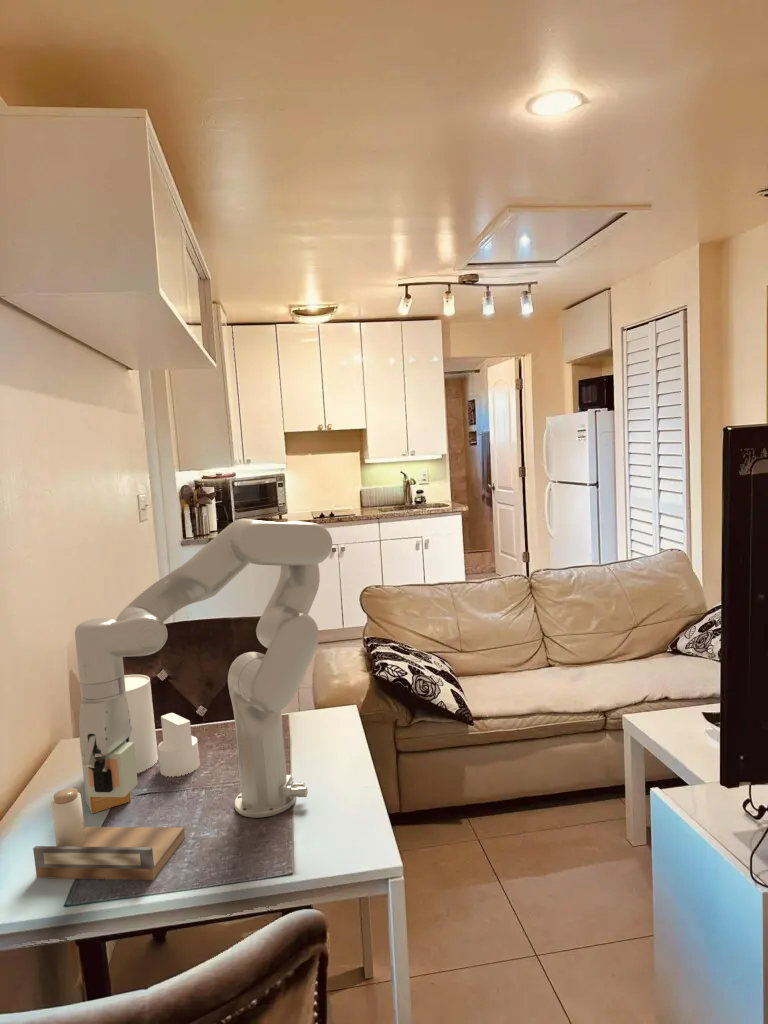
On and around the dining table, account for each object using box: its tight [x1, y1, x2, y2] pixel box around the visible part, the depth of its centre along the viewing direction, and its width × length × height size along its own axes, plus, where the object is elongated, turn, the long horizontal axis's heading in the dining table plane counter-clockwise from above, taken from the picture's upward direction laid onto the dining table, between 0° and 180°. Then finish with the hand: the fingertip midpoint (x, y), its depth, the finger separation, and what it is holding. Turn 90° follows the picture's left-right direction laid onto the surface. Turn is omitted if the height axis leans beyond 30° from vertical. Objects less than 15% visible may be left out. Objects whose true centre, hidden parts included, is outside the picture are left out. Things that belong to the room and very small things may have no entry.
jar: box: [50, 787, 86, 847], centre depth 128 cm, size 5×5×10 cm
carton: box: [85, 742, 139, 797], centre depth 126 cm, size 5×7×8 cm
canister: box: [124, 674, 159, 774], centre depth 165 cm, size 14×14×20 cm
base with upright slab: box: [157, 712, 201, 778], centre depth 161 cm, size 9×9×12 cm
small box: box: [80, 753, 132, 814], centre depth 147 cm, size 8×6×13 cm
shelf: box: [32, 826, 186, 881], centre depth 126 cm, size 22×13×6 cm, turn 82°
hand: (112, 782), depth 126 cm, fingers closed on carton, 5 cm apart
